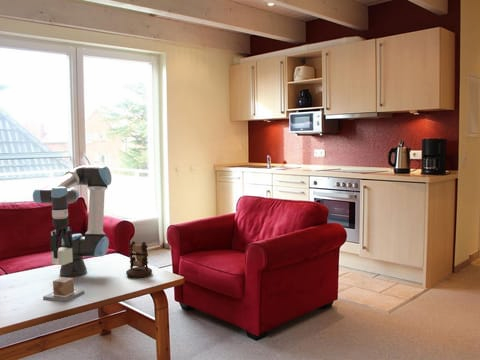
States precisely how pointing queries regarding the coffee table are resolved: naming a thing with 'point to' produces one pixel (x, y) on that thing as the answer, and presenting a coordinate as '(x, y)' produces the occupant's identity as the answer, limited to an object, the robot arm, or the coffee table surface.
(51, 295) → the board
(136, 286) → the coffee table surface
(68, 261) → the sage block
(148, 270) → the brown upright round-based piece
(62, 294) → the walnut block
